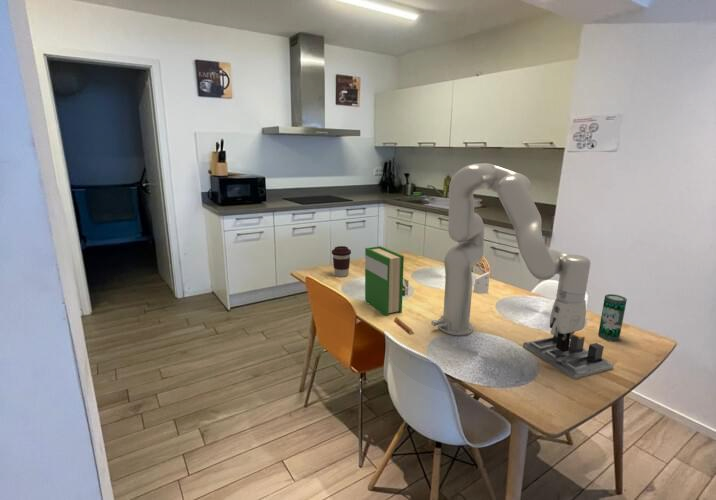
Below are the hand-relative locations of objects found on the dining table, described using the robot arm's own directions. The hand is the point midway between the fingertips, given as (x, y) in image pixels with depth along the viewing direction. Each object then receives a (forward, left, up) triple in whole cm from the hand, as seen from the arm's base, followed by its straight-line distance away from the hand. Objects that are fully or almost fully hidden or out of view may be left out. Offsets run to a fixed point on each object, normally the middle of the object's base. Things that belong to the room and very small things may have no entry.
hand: (561, 349), depth 122 cm
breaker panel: (+2, 0, -3) cm, 4 cm away
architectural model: (-21, +68, -4) cm, 72 cm away
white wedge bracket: (+14, +58, -3) cm, 60 cm away
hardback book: (-36, +58, -3) cm, 68 cm away
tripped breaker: (+6, 0, -1) cm, 6 cm away
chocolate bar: (-37, +37, -4) cm, 53 cm away
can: (+28, +5, -3) cm, 29 cm away
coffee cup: (-39, +104, -3) cm, 111 cm away
